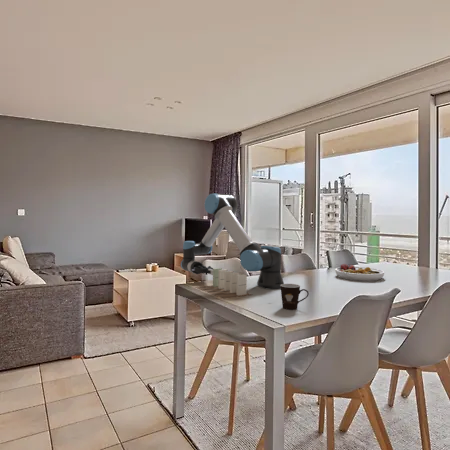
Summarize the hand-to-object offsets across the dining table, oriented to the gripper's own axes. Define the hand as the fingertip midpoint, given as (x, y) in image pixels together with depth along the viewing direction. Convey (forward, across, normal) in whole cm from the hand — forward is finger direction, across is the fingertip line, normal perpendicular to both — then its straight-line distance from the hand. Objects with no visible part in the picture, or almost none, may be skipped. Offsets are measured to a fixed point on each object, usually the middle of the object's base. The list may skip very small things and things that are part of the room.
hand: (214, 272), depth 209 cm
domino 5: (+27, 0, -7) cm, 28 cm away
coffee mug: (+58, -7, -8) cm, 59 cm away
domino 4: (+21, 0, -7) cm, 22 cm away
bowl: (+21, -97, -8) cm, 100 cm away
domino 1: (+3, 0, -7) cm, 8 cm away
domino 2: (+9, 0, -7) cm, 12 cm away
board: (+15, +4, -8) cm, 18 cm away
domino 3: (+15, 0, -7) cm, 17 cm away
